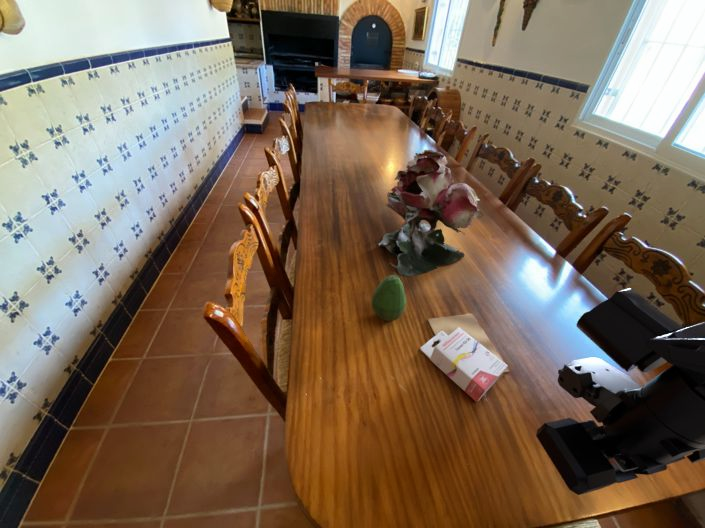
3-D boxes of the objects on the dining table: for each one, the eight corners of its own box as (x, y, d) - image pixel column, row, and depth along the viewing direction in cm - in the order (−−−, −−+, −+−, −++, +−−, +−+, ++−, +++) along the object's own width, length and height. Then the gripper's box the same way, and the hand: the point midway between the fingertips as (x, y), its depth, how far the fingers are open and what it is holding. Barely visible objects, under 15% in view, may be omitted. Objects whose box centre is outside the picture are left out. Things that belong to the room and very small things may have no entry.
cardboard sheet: (509, 372, 62) (510, 371, 62) (457, 381, 60) (458, 379, 60) (471, 314, 74) (471, 313, 74) (427, 320, 72) (427, 318, 72)
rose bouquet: (477, 254, 94) (516, 161, 75) (404, 282, 82) (429, 179, 63) (424, 216, 111) (445, 132, 92) (357, 234, 98) (365, 142, 79)
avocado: (395, 301, 76) (403, 265, 69) (406, 325, 70) (417, 289, 63) (365, 305, 74) (370, 269, 67) (374, 330, 69) (381, 294, 61)
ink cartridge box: (485, 390, 53) (422, 336, 61) (476, 403, 56) (417, 350, 65) (509, 364, 58) (447, 317, 66) (499, 377, 61) (441, 331, 69)
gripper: (668, 330, 36) (593, 393, 46) (537, 351, 32) (486, 414, 42) (787, 426, 28) (664, 477, 38) (628, 469, 24) (538, 513, 34)
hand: (584, 465), depth 38 cm, fingers closed
